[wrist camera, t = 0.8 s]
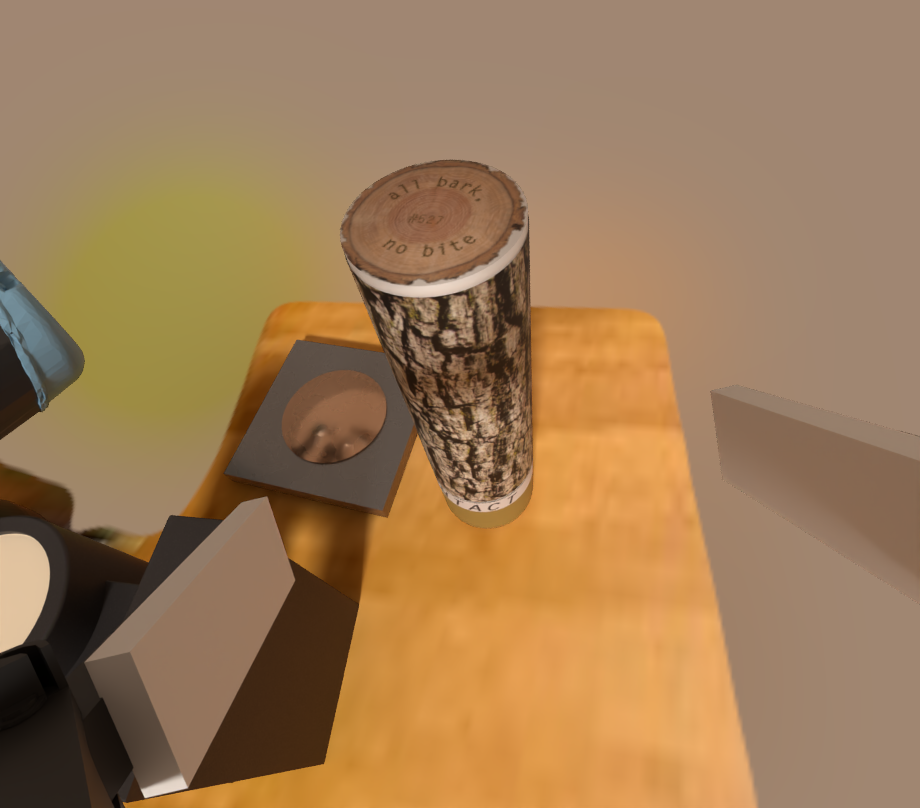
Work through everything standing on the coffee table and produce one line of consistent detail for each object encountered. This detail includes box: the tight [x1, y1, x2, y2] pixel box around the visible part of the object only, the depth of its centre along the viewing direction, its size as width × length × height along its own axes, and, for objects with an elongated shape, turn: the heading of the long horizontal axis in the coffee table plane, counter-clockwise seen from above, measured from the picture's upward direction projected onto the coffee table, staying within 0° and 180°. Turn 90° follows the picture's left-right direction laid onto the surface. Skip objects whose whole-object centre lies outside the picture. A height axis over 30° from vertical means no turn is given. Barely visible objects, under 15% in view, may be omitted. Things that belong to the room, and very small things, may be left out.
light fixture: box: [0, 515, 359, 803], centre depth 27 cm, size 10×14×18 cm
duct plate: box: [224, 340, 418, 518], centre depth 43 cm, size 14×14×2 cm
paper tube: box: [340, 160, 533, 528], centre depth 29 cm, size 7×7×25 cm
